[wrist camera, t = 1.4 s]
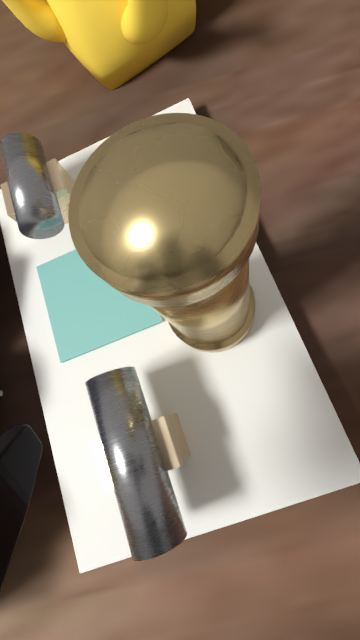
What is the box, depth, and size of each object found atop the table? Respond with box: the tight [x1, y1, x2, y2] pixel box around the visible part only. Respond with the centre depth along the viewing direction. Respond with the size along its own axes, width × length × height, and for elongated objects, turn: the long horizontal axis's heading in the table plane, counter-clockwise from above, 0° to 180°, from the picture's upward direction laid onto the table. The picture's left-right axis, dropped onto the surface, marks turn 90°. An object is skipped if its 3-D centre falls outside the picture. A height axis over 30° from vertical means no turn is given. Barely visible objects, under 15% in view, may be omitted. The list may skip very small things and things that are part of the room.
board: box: [0, 98, 360, 573], centre depth 21 cm, size 26×16×1 cm, turn 20°
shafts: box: [0, 132, 191, 561], centre depth 19 cm, size 24×6×4 cm, turn 20°
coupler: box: [68, 113, 261, 353], centre depth 14 cm, size 5×5×12 cm
